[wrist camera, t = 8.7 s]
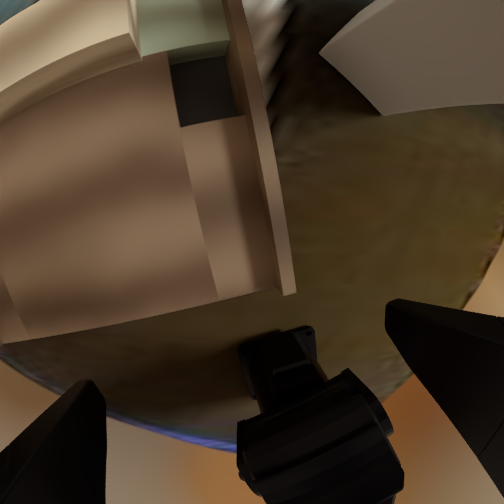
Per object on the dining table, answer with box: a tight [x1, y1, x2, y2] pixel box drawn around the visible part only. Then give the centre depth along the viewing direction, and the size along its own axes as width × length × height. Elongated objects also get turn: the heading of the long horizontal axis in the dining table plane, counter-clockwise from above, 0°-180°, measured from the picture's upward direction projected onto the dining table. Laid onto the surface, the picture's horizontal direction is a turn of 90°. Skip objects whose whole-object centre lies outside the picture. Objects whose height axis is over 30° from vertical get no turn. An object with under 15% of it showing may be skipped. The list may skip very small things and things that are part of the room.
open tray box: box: [0, 0, 296, 347], centre depth 14 cm, size 22×24×4 cm
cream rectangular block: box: [0, 0, 142, 123], centre depth 9 cm, size 5×12×4 cm, turn 101°
